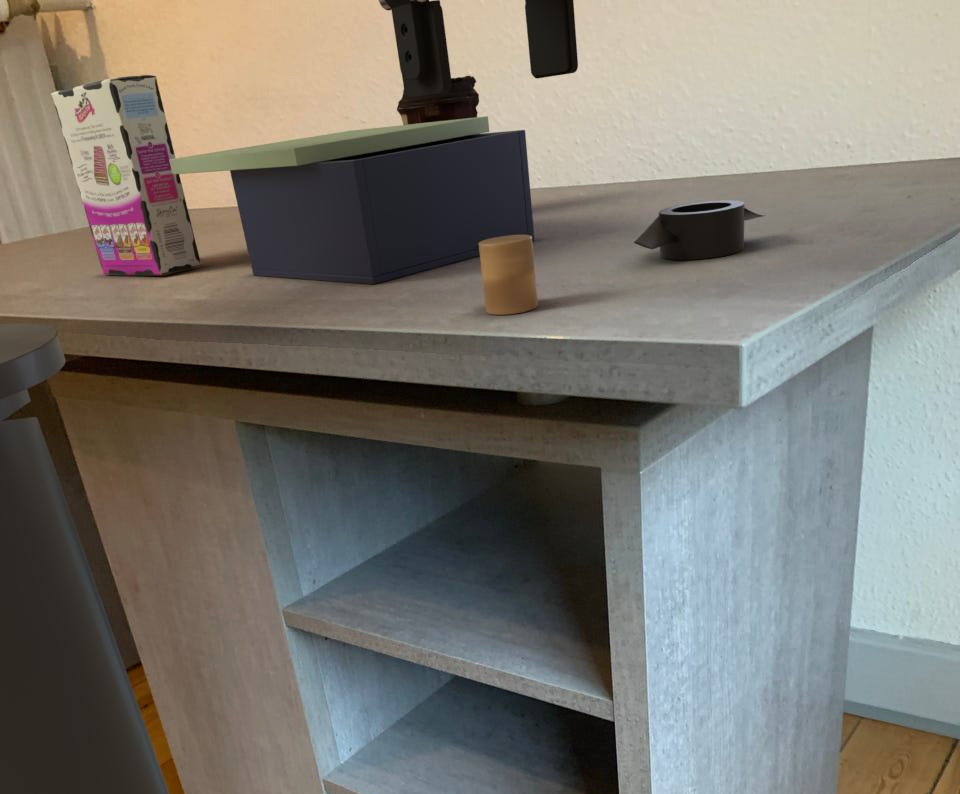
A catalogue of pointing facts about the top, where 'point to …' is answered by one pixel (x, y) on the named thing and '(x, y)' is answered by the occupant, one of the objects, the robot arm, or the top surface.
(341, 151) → the bin lid
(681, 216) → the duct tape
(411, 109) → the dark brown block
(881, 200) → the top surface
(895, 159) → the top surface
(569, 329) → the top surface
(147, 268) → the candy bar box
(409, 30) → the robot arm
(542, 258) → the top surface
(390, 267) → the bin
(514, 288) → the cylinder
